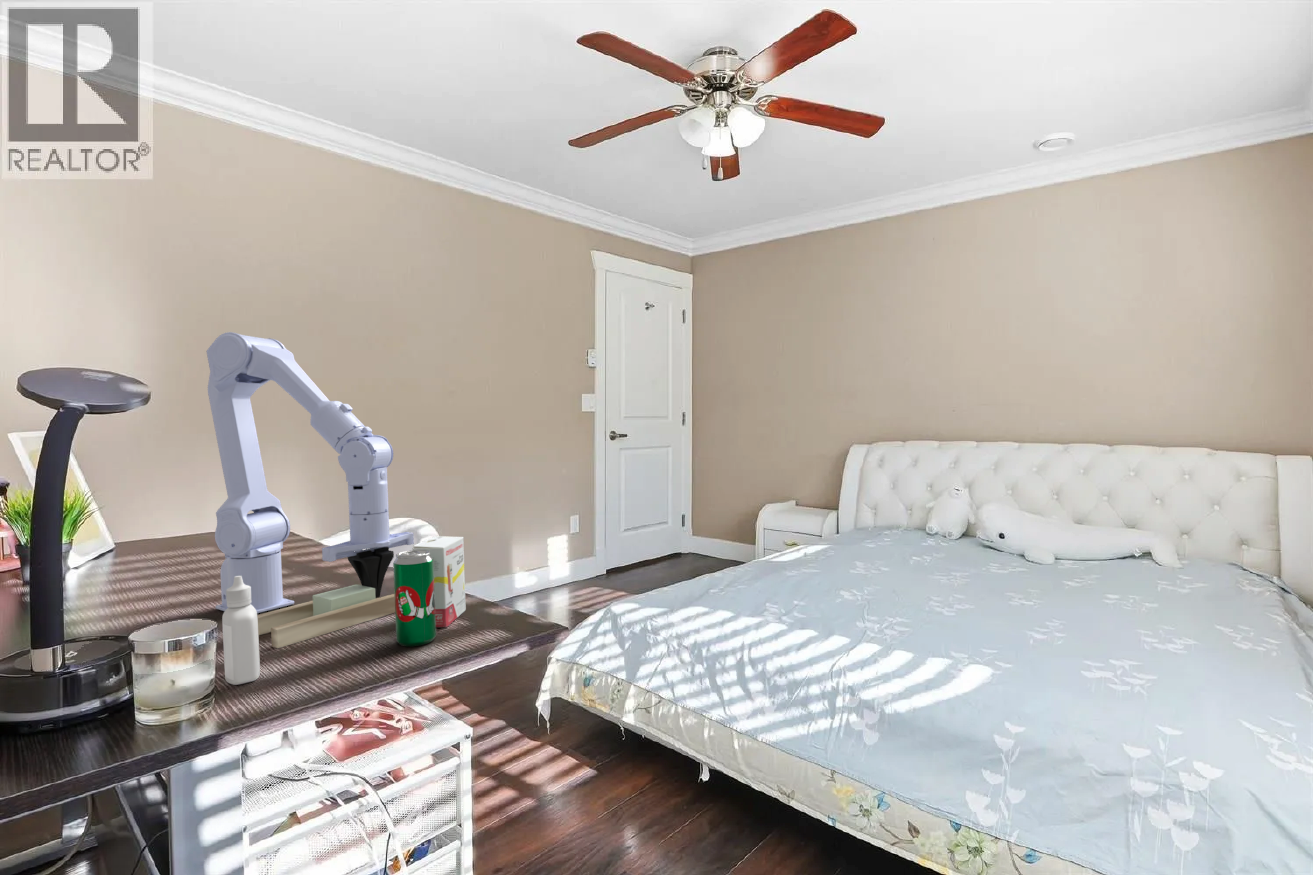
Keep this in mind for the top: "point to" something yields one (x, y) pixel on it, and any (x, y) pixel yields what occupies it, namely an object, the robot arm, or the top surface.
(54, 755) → the top surface
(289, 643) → the chute
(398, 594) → the soda can
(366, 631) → the top surface
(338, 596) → the sage block
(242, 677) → the eye dropper bottle
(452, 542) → the ink box
